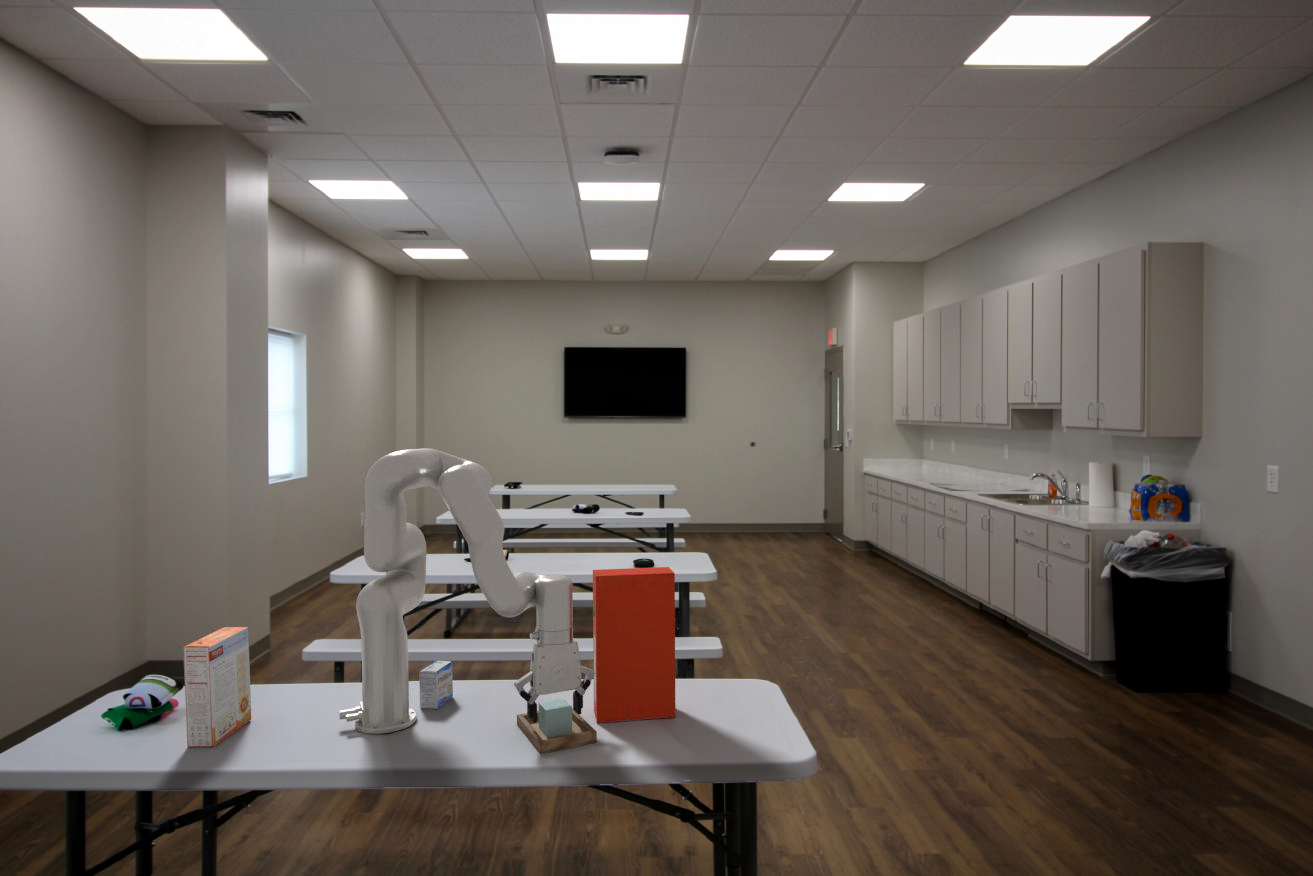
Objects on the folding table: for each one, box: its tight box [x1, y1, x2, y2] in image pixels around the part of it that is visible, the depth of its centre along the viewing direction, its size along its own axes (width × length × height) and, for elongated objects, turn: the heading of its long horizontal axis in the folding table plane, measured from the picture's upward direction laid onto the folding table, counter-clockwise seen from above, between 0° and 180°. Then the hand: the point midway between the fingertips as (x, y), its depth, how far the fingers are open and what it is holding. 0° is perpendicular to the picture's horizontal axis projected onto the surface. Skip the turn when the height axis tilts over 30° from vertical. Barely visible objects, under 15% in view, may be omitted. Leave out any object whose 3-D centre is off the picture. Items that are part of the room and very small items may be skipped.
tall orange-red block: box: [592, 566, 676, 724], centre depth 171 cm, size 8×17×32 cm, turn 100°
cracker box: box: [182, 626, 252, 748], centre depth 161 cm, size 14×6×21 cm, turn 178°
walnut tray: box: [516, 707, 598, 755], centre depth 161 cm, size 12×16×2 cm
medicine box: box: [418, 660, 454, 710], centre depth 178 cm, size 8×4×9 cm, turn 168°
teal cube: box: [538, 697, 573, 738], centre depth 161 cm, size 6×6×6 cm
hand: (555, 716), depth 161 cm, fingers open, 9 cm apart
